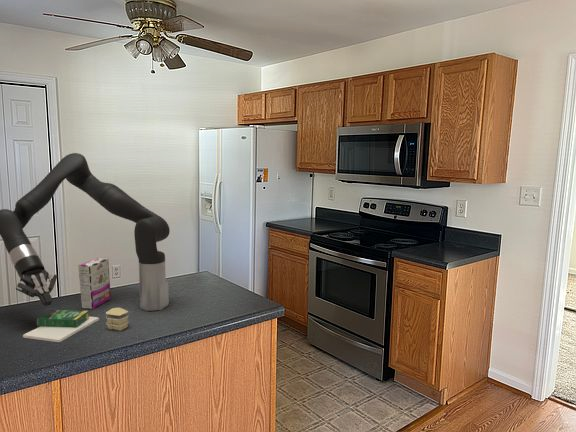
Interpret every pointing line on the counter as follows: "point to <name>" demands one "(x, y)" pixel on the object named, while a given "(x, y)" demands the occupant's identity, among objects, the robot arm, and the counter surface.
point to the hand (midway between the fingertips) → (48, 304)
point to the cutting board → (57, 331)
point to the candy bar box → (94, 283)
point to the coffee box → (63, 318)
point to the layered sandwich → (117, 319)
